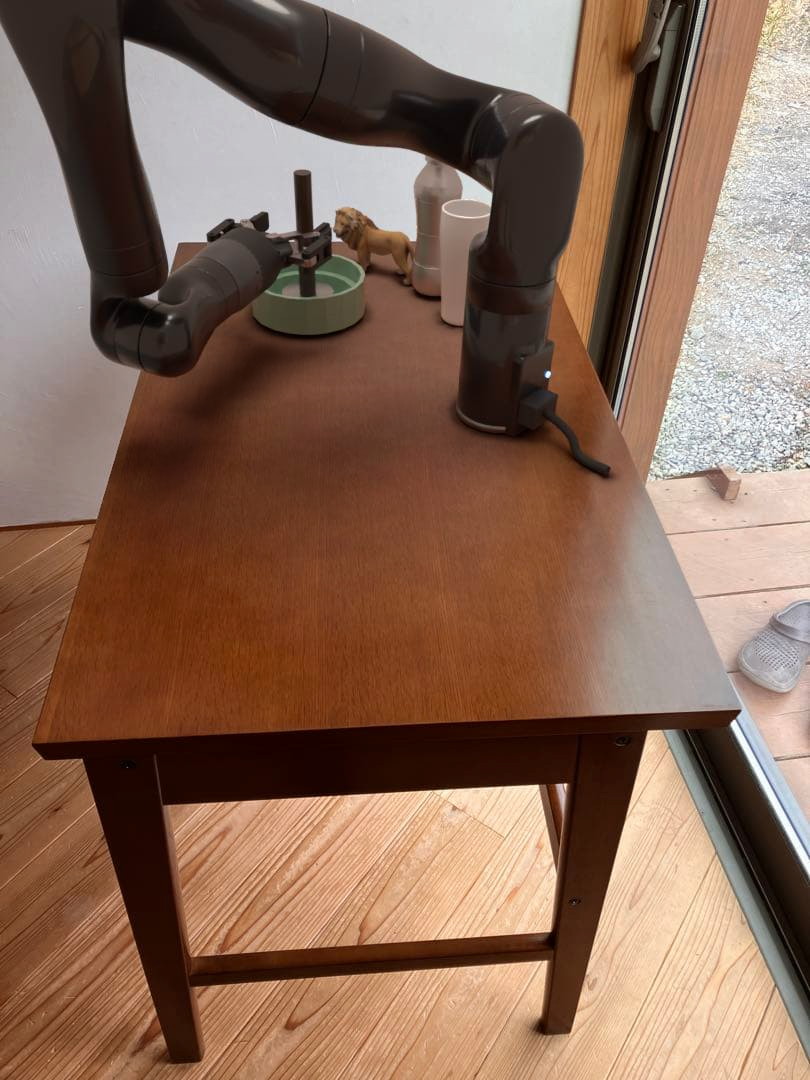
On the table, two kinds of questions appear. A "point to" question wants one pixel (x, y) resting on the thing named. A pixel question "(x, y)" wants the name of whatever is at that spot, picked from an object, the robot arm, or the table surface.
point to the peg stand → (305, 225)
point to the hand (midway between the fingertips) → (296, 224)
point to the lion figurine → (372, 240)
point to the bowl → (314, 300)
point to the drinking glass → (458, 252)
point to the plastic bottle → (431, 222)
